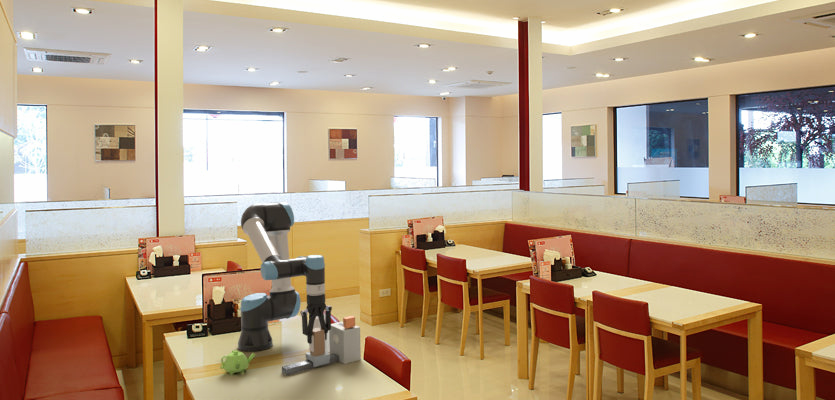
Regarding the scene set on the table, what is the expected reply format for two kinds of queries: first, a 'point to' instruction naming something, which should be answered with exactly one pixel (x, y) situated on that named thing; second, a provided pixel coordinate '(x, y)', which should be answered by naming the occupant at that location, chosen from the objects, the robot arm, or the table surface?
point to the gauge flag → (349, 322)
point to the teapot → (236, 362)
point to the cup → (317, 325)
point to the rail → (306, 365)
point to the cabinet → (345, 342)
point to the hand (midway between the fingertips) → (317, 349)
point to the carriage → (318, 349)
